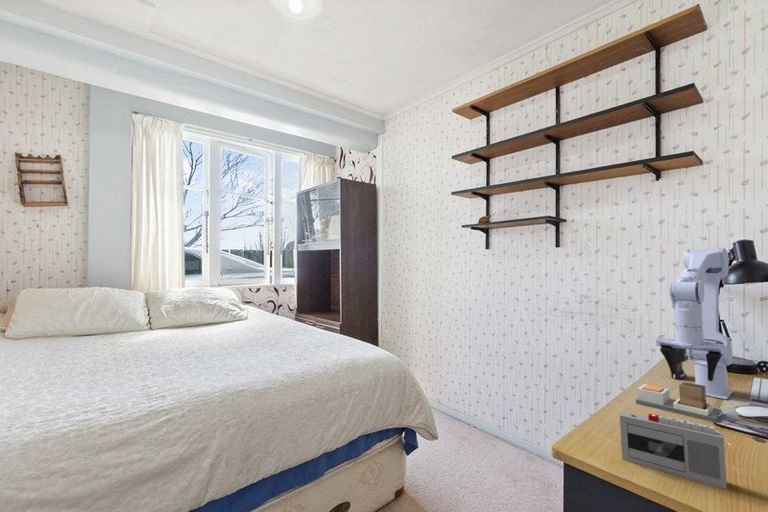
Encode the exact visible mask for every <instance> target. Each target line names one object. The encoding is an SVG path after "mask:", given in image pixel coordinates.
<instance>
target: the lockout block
mask: <svg viewBox="0 0 768 512" xmlns="http://www.w3.org/2000/svg"><path fill="white" fill-rule="evenodd" d="M678 388H679V389H678V390H679V398H680V404H681V405H685V406H690V407H694V408H699V409H703V410H706V409H707V407H706V403H707V396H706V390H705V386H704V385H698V384H695V383H692V382H687V381H683V382H682V383H680V384H679V385H678Z"/></svg>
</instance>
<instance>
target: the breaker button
mask: <svg viewBox="0 0 768 512" xmlns="http://www.w3.org/2000/svg"><path fill="white" fill-rule="evenodd" d="M664 388H665V387H660V386H657V385H651V384H647V385H646V386H644V387H643V389H645V390H650V391H655V392H660V393H661V392H662V391H663V390H664Z"/></svg>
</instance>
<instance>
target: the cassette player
mask: <svg viewBox="0 0 768 512" xmlns="http://www.w3.org/2000/svg"><path fill="white" fill-rule="evenodd" d="M619 426H620V427H619V428H620V442H621V443H620V447H621V459H622V460H624V459H625V460H624V461H627V460H628V462H630V461H631V462H632V463H634V464H638V465H642V466H645V467H648V468H651V469H656V470H658V471H659V470H660V471H662V472H666V473H670V474H673V475H675V476H680V477H683V478H687V479H691V480H693V481H697V482H701V483H704V484H707V485H709V486H710V485H711V486H715V487H718V488H721V489H725V490H727V489H728V486H727V472H726V469H727V468H726V453H725V439H724V438H725V437H724V432H721V431H717V430H715V426H713V425H707V424H702V423H698V422H694V421H693V422H692V421H687V420H683V419H678V418H674V417H670V416H669V417H668V416H663V415H658V414H653V413H648V415H646V416H645V415H642V414H636V413H632V412H627V411H623V410H622V411H621V413H620V414H619Z"/></svg>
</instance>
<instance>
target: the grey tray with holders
mask: <svg viewBox="0 0 768 512" xmlns="http://www.w3.org/2000/svg"><path fill="white" fill-rule="evenodd" d="M646 385H648V384H646V383H643V384H642V385H640V386H639V387H637V391H636V392H637V398H636V399H635V403H636V404H637V405H641V406H642V405H643V406H646V407H651V408H654V409H658V410H663V411H667V412H671V413H676V414H679V415H684V416H687V417H691V418H695V419H696V418H697V419H699V420H704V421H709V422H713V423H716V422H717V421H718V420H717V418H718V417H719V415H720V414H721V413H722V414H723V410H722V409H720V408H717V407H715V405H714V403H710V402H706V407H707V409H706V410H703V409H699V408H694V407H690V406H685V405H681V404H680V397H678V398H677V399H673V398H671V396H670V388H666V387H663V388H664V390H663V391H662V392H661V393H660V392H655V391H650V390H645V389H643V387H644V386H646ZM719 418H720V417H719ZM719 418H718V419H719ZM716 420H717V421H716ZM715 421H716V422H715Z"/></svg>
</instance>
